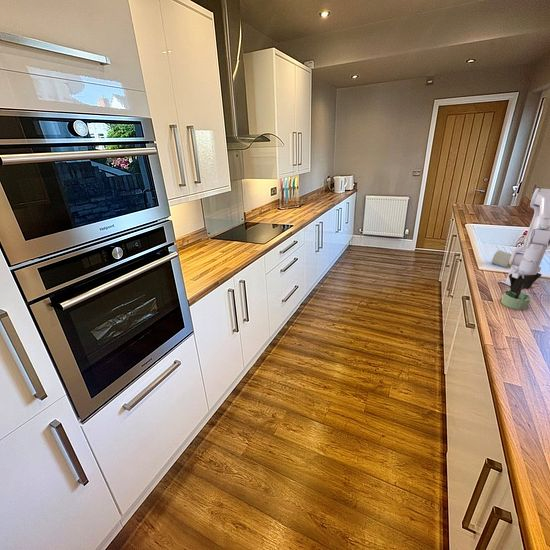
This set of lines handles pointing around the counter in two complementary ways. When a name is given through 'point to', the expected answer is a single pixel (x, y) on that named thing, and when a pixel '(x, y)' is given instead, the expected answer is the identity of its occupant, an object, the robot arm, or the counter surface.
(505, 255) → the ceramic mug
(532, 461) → the counter surface
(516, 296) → the muddler
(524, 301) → the bowl
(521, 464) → the counter surface
